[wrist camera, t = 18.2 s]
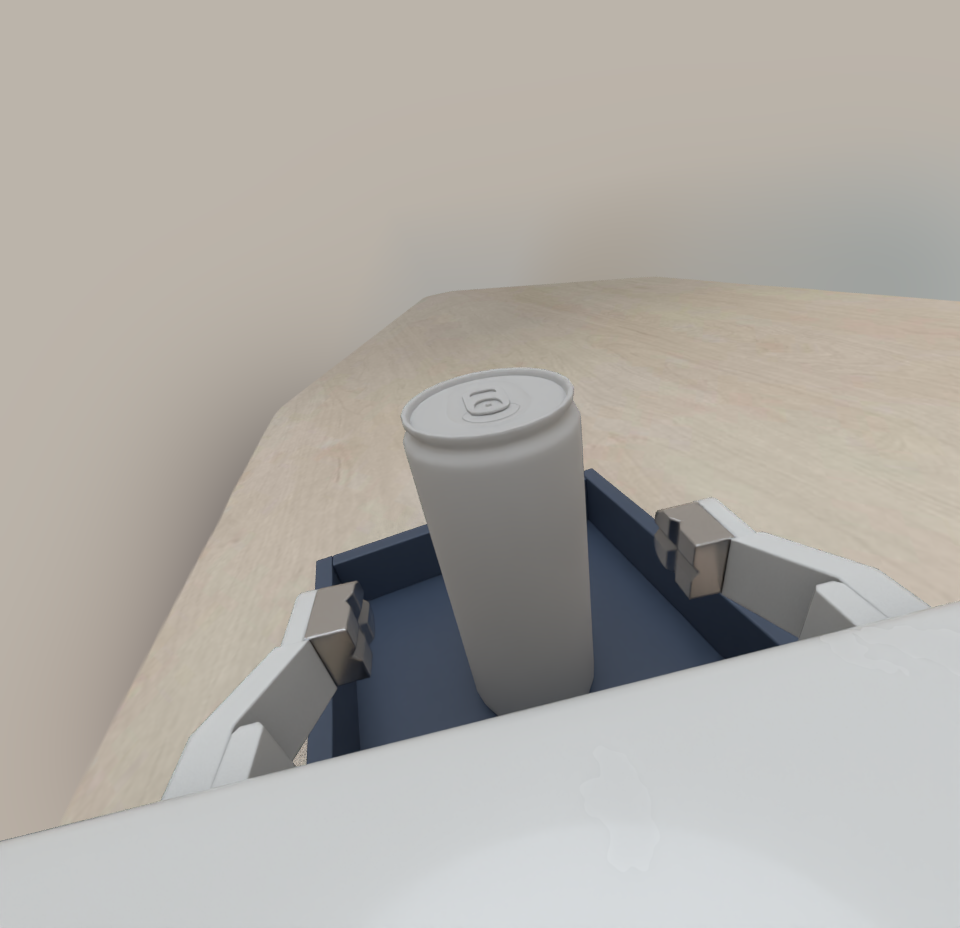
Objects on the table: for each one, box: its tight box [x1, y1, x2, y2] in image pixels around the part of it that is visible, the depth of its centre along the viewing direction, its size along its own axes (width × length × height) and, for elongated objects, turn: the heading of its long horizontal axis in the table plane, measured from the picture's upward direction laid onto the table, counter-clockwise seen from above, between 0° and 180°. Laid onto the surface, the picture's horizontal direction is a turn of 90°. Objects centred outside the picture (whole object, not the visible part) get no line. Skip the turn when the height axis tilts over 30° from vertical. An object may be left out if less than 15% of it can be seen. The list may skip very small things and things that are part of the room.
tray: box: [307, 469, 798, 764], centre depth 16 cm, size 16×16×4 cm
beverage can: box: [401, 368, 594, 716], centre depth 14 cm, size 5×5×12 cm
